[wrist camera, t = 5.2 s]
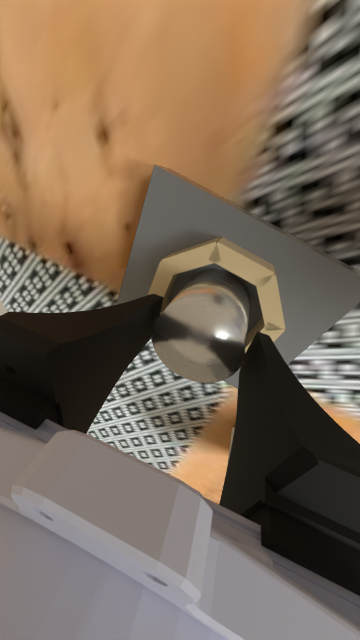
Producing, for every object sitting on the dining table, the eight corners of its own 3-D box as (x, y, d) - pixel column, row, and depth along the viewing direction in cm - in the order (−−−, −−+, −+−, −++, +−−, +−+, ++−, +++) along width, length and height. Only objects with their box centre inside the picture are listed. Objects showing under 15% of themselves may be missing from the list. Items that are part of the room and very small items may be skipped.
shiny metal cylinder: (261, 280, 12) (261, 323, 8) (237, 338, 14) (227, 394, 10) (189, 260, 13) (156, 291, 9) (178, 319, 15) (148, 364, 11)
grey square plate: (359, 270, 12) (394, 297, 9) (251, 374, 19) (250, 412, 16) (170, 169, 13) (141, 160, 10) (128, 304, 19) (102, 326, 16)
